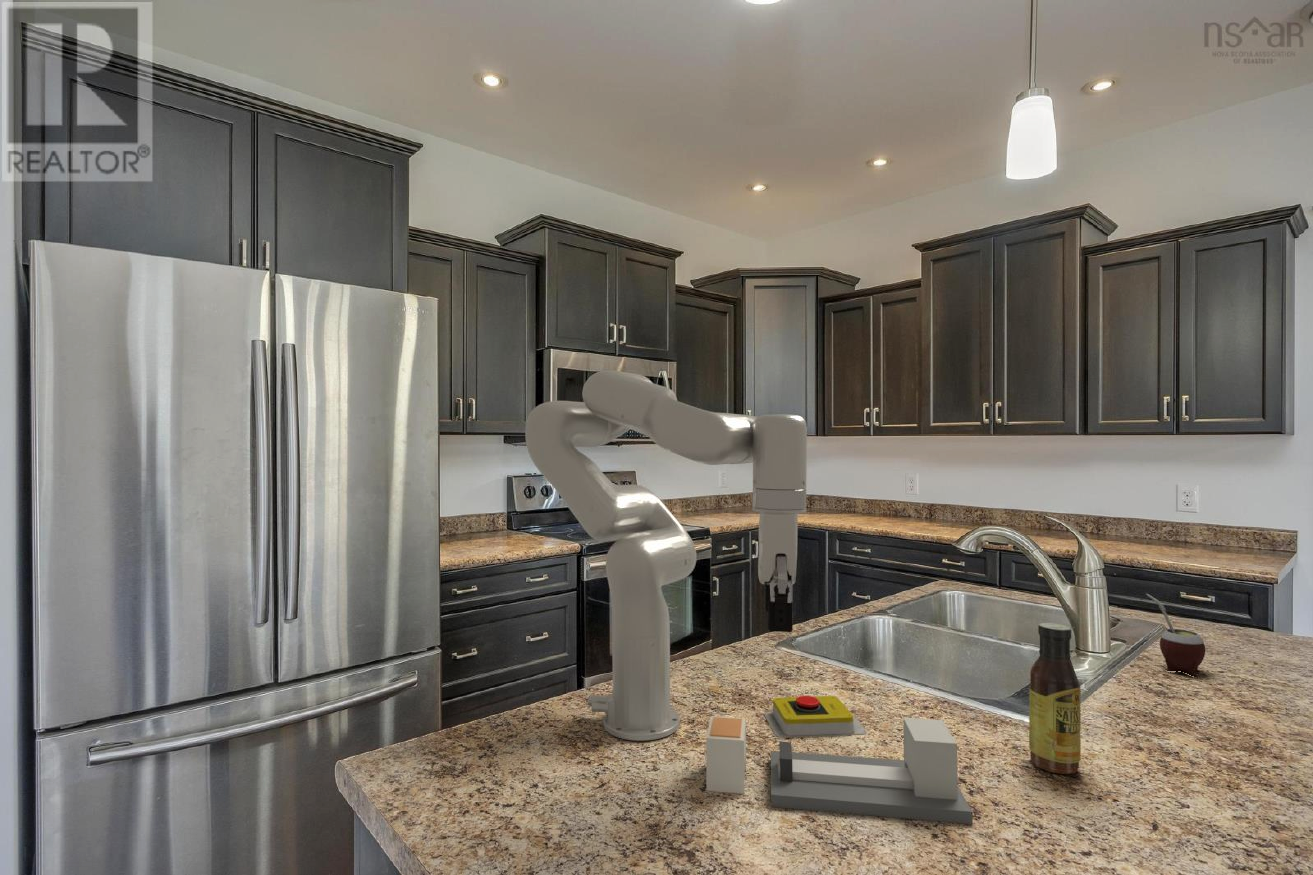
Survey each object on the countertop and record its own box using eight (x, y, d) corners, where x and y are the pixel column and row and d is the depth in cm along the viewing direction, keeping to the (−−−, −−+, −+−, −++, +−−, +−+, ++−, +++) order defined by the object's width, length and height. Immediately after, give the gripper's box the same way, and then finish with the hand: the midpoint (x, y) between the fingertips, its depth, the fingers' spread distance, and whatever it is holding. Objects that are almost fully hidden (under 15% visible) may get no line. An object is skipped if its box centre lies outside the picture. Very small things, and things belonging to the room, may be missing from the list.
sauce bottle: (1063, 781, 87) (1061, 635, 88) (1019, 761, 93) (1017, 624, 93) (1091, 770, 90) (1089, 628, 91) (1047, 751, 96) (1045, 618, 96)
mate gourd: (1215, 678, 125) (1213, 601, 125) (1174, 678, 125) (1173, 601, 125) (1184, 665, 133) (1183, 592, 133) (1145, 665, 133) (1144, 592, 133)
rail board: (771, 806, 82) (770, 739, 82) (770, 761, 94) (770, 702, 94) (972, 824, 78) (971, 753, 78) (945, 774, 90) (944, 713, 90)
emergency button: (762, 690, 111) (848, 687, 111) (763, 716, 110) (848, 713, 111) (775, 712, 101) (869, 709, 102) (776, 740, 101) (869, 737, 102)
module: (706, 790, 86) (706, 736, 86) (711, 765, 93) (710, 714, 93) (744, 793, 85) (743, 739, 85) (746, 767, 92) (745, 717, 92)
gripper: (751, 495, 101) (750, 604, 101) (753, 506, 84) (752, 638, 83) (800, 496, 100) (799, 606, 100) (812, 508, 83) (811, 641, 83)
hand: (778, 620), depth 92 cm, fingers open, 9 cm apart
